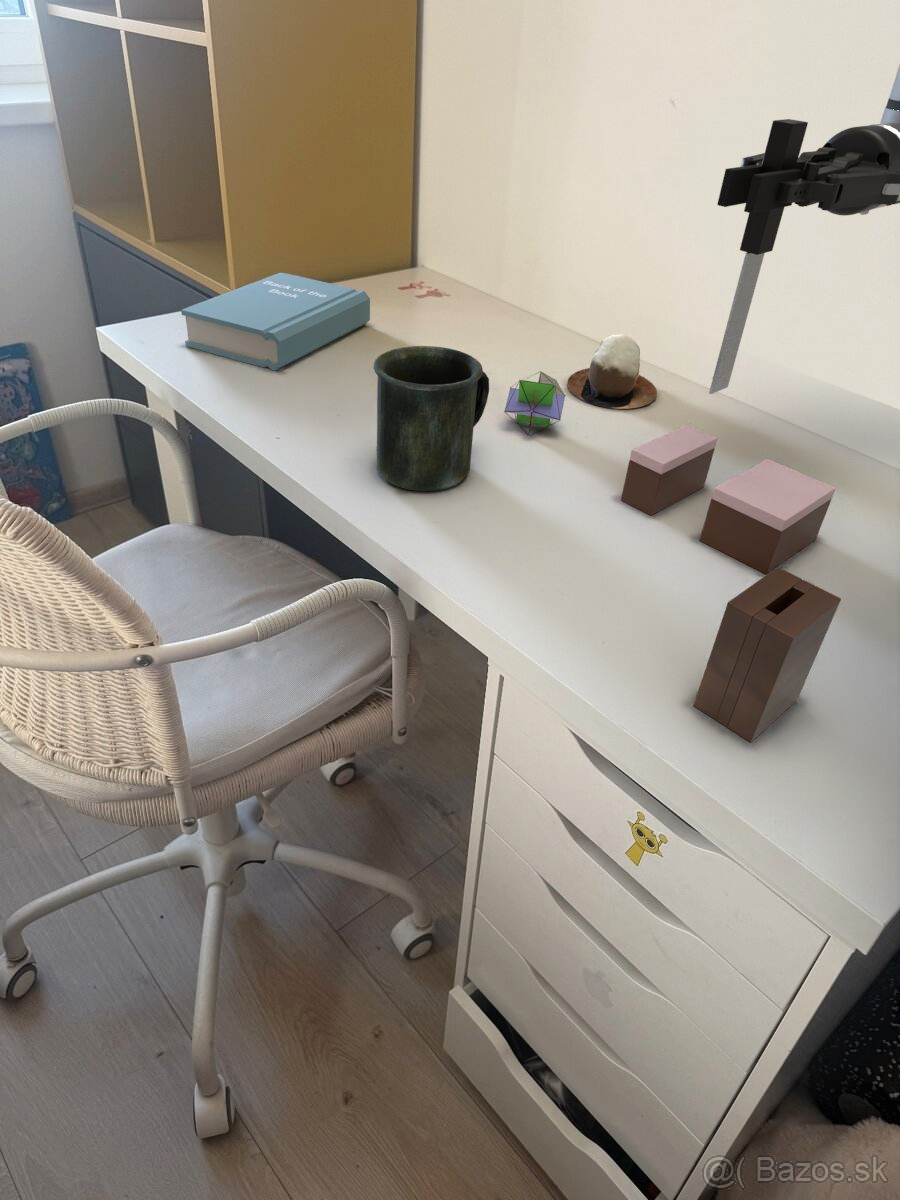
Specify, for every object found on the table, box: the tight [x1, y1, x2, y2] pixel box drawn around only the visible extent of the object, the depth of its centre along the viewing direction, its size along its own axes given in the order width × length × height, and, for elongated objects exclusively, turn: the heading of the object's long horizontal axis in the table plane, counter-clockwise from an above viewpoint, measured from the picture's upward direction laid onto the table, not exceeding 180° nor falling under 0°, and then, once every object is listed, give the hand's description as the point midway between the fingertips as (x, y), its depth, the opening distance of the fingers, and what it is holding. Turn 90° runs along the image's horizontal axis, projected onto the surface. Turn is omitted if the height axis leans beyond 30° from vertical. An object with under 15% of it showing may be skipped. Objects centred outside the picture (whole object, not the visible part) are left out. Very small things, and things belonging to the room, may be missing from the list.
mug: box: [372, 345, 490, 492], centre depth 88 cm, size 11×15×12 cm
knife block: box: [693, 566, 842, 743], centre depth 61 cm, size 5×7×10 cm
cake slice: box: [620, 424, 718, 516], centre depth 88 cm, size 4×10×6 cm, turn 133°
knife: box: [708, 118, 809, 395], centre depth 74 cm, size 2×3×23 cm, turn 133°
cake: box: [699, 458, 837, 575], centre depth 82 cm, size 8×10×6 cm
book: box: [180, 272, 371, 371], centre depth 119 cm, size 23×16×5 cm
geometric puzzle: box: [503, 370, 567, 437], centre depth 99 cm, size 7×7×8 cm
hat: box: [566, 333, 658, 410], centre depth 111 cm, size 12×10×10 cm
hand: (739, 191), depth 67 cm, fingers closed on knife, 2 cm apart
